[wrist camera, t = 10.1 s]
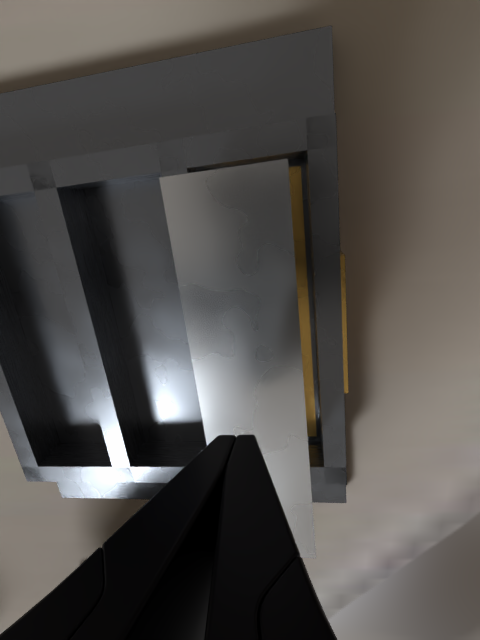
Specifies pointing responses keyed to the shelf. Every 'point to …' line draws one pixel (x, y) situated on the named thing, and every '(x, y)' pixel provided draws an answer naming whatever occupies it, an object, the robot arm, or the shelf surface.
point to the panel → (245, 318)
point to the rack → (154, 258)
